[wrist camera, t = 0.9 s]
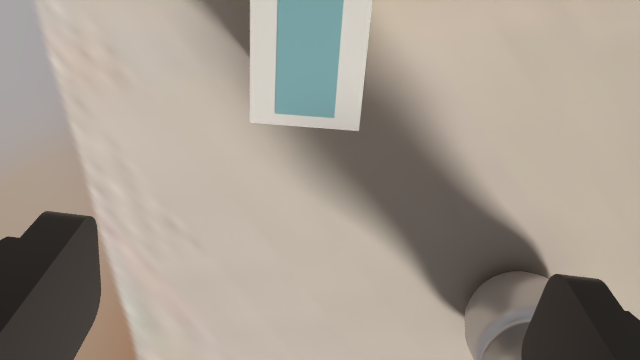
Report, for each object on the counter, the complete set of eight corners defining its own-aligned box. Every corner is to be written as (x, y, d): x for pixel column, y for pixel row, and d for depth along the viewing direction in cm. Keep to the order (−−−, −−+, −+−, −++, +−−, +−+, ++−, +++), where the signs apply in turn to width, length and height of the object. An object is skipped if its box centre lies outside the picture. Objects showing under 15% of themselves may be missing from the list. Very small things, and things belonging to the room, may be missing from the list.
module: (369, -42, 25) (375, -24, 19) (356, 85, 28) (358, 131, 22) (271, -49, 25) (250, -33, 20) (268, 78, 28) (249, 123, 22)
